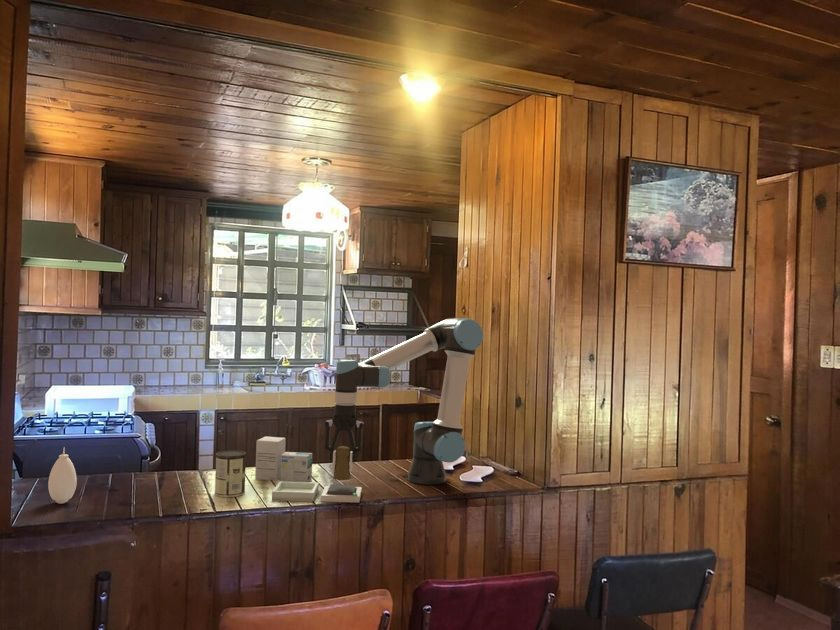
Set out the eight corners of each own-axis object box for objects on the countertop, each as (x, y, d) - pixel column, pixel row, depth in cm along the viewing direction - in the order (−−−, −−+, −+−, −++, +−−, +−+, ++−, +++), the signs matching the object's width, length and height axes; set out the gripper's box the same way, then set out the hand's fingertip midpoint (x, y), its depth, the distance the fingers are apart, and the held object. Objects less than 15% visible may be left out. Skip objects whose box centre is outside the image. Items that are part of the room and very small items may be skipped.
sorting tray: (318, 490, 236) (318, 482, 236) (313, 501, 222) (313, 492, 222) (279, 489, 236) (279, 481, 236) (271, 500, 222) (272, 491, 222)
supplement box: (263, 473, 258) (264, 436, 259) (285, 475, 257) (286, 437, 257) (254, 479, 249) (255, 439, 250) (276, 480, 248) (278, 441, 248)
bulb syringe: (56, 507, 204) (58, 450, 204) (42, 503, 208) (45, 446, 209) (80, 502, 211) (82, 446, 211) (66, 498, 215) (69, 443, 215)
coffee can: (228, 488, 235) (229, 449, 235) (251, 492, 231) (252, 452, 231) (207, 494, 226) (209, 453, 226) (231, 499, 221) (232, 457, 221)
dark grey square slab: (355, 489, 234) (355, 485, 234) (353, 496, 225) (354, 491, 225) (330, 489, 234) (330, 484, 234) (327, 495, 225) (327, 491, 225)
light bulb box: (312, 480, 250) (313, 452, 251) (307, 485, 244) (308, 456, 244) (284, 479, 252) (285, 451, 252) (279, 483, 245) (280, 454, 245)
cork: (333, 475, 232) (335, 444, 232) (350, 476, 232) (352, 445, 233) (332, 480, 226) (334, 448, 226) (350, 480, 226) (351, 448, 227)
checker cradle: (361, 492, 236) (361, 484, 236) (359, 502, 223) (359, 494, 223) (325, 491, 236) (325, 483, 236) (320, 501, 223) (321, 493, 223)
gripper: (371, 403, 234) (368, 468, 233) (320, 401, 233) (317, 466, 233) (370, 406, 226) (367, 473, 226) (317, 404, 226) (314, 471, 225)
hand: (342, 470), depth 229 cm, fingers closed on cork, 5 cm apart
